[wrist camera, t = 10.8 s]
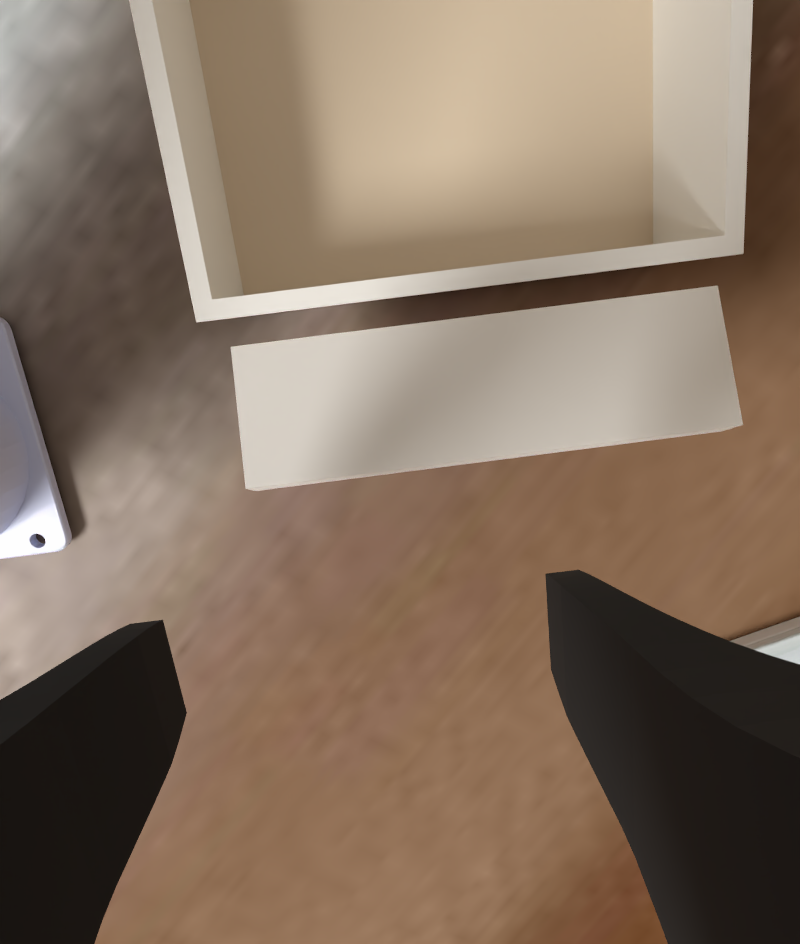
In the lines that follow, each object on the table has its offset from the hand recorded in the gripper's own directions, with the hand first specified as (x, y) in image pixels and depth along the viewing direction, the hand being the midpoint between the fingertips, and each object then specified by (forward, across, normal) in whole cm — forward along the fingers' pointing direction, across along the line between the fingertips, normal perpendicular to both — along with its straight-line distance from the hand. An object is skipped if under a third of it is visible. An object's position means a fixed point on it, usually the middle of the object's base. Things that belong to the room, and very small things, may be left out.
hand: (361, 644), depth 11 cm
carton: (+10, -3, -12) cm, 16 cm away
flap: (+5, -3, -4) cm, 7 cm away
